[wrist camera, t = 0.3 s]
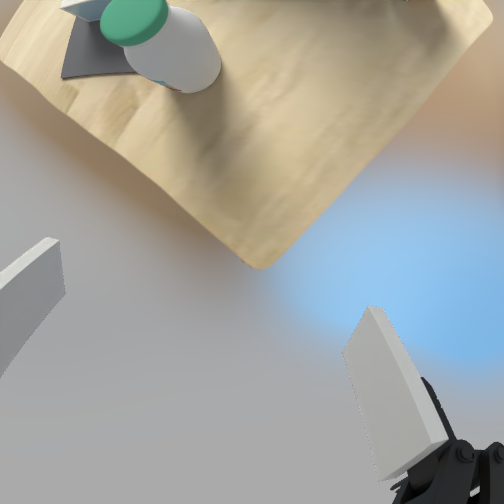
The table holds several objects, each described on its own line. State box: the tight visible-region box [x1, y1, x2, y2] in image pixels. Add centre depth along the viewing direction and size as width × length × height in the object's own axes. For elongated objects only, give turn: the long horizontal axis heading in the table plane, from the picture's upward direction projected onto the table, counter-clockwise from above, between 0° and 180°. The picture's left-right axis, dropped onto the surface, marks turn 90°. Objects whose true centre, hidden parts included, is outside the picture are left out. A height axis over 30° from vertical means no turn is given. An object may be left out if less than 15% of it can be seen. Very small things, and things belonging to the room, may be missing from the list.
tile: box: [60, 0, 112, 22], centre depth 20 cm, size 2×8×8 cm, turn 80°
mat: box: [61, 16, 136, 78], centre depth 24 cm, size 20×14×1 cm
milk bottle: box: [100, 0, 221, 93], centre depth 20 cm, size 8×8×20 cm
